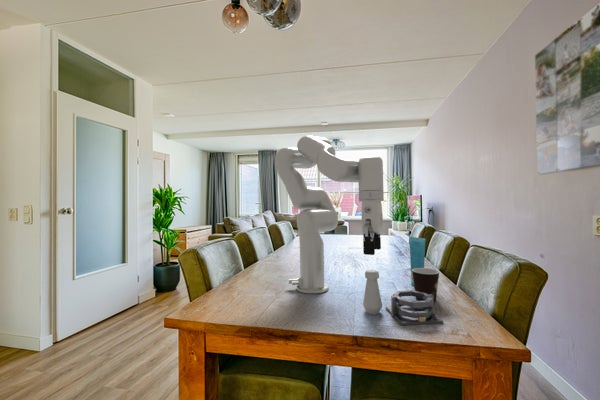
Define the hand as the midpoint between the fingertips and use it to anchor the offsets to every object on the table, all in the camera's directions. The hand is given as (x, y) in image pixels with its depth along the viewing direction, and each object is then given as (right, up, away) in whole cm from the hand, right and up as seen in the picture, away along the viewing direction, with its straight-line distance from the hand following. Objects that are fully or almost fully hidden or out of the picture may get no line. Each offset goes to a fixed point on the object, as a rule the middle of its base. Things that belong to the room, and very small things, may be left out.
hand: (372, 251), depth 89 cm
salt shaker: (0, -19, 0) cm, 19 cm away
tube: (+25, -19, +27) cm, 42 cm away
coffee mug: (+22, -19, +11) cm, 31 cm away
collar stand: (+11, -19, -3) cm, 22 cm away
